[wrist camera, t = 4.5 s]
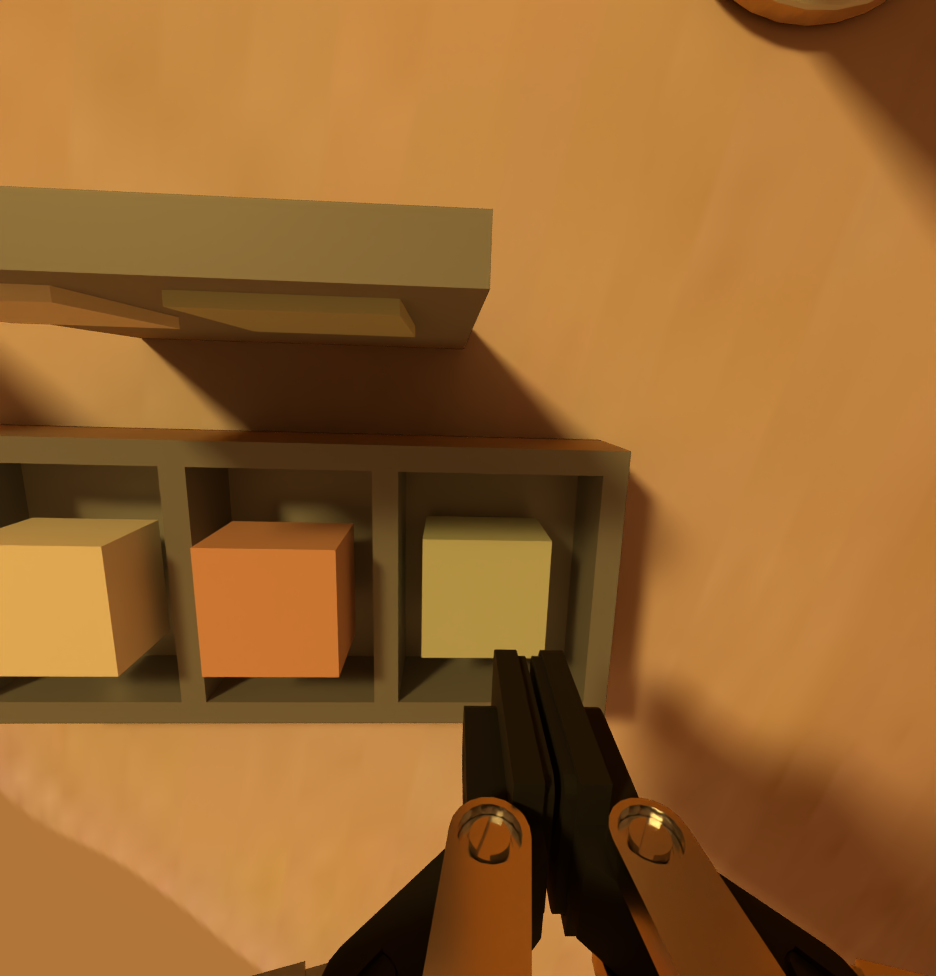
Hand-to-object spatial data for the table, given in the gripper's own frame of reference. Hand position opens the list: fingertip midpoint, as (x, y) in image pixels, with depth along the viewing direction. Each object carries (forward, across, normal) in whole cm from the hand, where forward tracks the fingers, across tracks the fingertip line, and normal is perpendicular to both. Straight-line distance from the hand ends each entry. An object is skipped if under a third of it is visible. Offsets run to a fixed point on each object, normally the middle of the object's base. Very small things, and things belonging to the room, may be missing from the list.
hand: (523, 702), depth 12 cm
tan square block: (+9, +16, +1) cm, 19 cm away
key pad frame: (+12, +8, +1) cm, 15 cm away
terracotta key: (+9, +8, +1) cm, 13 cm away
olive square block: (+11, 0, +1) cm, 11 cm away
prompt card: (+12, +8, -9) cm, 18 cm away
